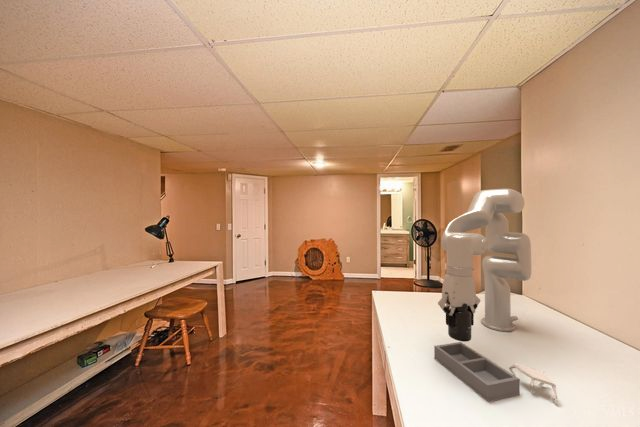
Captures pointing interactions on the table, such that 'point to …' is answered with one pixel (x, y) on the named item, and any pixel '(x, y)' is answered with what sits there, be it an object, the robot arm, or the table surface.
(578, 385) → the table surface
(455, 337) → the supplement bottle
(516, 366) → the origami figure
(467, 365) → the divided tray
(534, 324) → the table surface
